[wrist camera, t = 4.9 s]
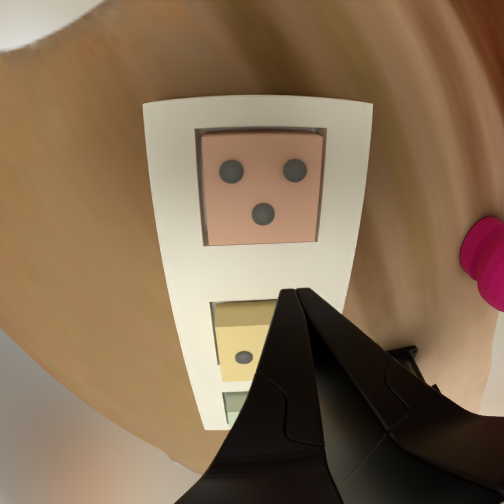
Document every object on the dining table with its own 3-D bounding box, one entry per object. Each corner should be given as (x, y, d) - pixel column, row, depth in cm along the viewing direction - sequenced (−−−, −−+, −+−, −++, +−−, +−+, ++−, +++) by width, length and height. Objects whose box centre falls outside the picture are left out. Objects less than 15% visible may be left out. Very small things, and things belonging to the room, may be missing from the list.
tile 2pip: (303, 298, 21) (311, 323, 18) (296, 354, 24) (301, 378, 22) (215, 303, 20) (214, 329, 18) (222, 359, 23) (222, 384, 21)
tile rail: (352, 100, 16) (373, 103, 14) (305, 402, 33) (310, 422, 30) (156, 101, 16) (142, 103, 13) (205, 408, 32) (205, 430, 30)
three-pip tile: (311, 130, 16) (323, 137, 14) (305, 223, 19) (315, 243, 17) (205, 131, 16) (201, 138, 14) (210, 227, 19) (208, 247, 17)
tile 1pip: (290, 387, 26) (294, 409, 24) (285, 416, 29) (288, 435, 27) (226, 391, 26) (227, 414, 24) (230, 419, 29) (231, 439, 27)
